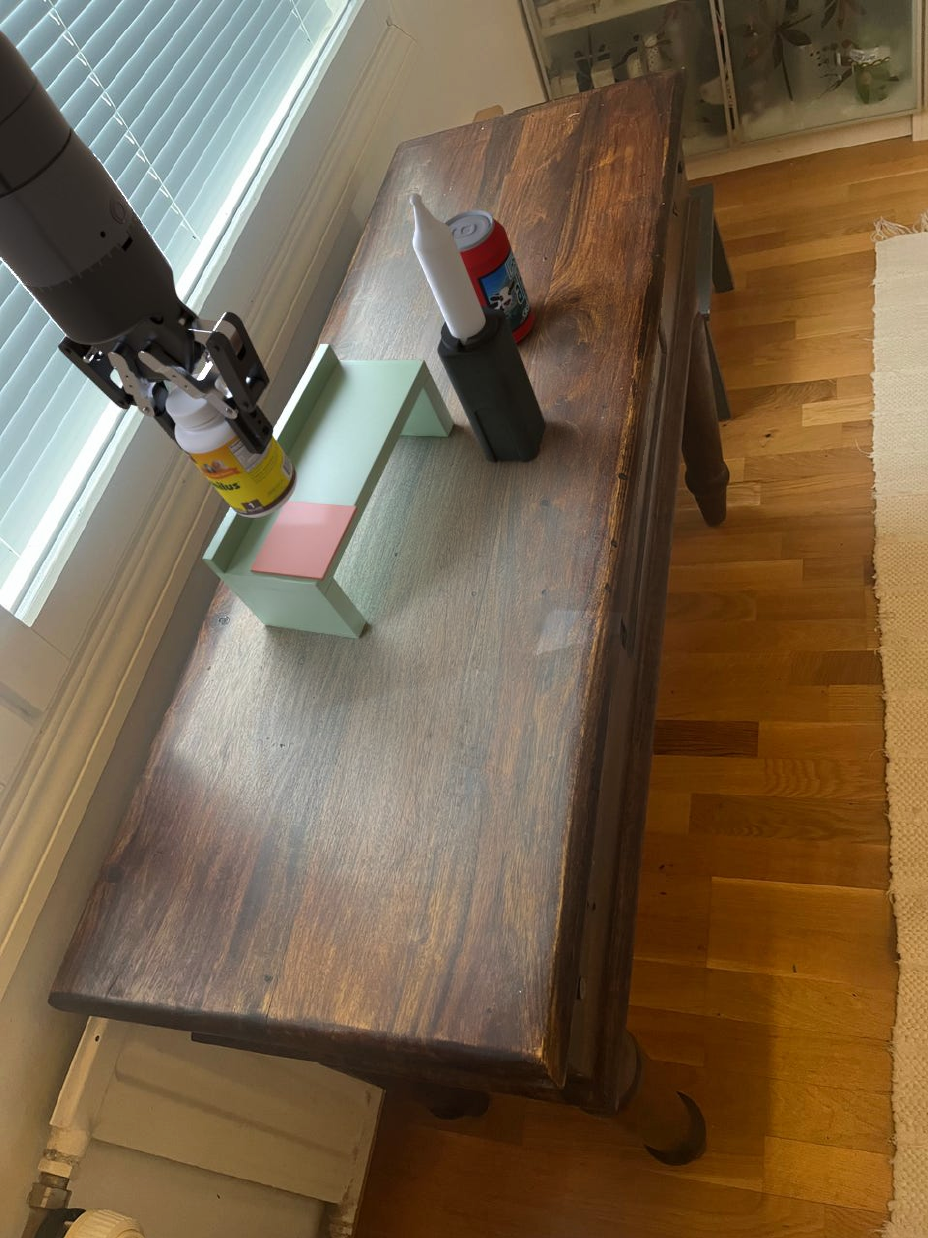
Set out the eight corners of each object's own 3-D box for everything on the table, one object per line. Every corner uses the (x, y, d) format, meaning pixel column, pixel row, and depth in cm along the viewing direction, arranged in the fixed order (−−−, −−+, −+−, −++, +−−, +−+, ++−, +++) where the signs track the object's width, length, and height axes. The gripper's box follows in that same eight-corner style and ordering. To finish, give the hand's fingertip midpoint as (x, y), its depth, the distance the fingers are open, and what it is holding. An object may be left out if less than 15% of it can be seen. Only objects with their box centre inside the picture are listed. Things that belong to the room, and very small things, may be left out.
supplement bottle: (220, 507, 70) (139, 410, 62) (269, 455, 71) (196, 354, 63) (264, 532, 67) (184, 434, 59) (315, 477, 68) (243, 374, 60)
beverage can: (532, 351, 89) (495, 245, 80) (466, 361, 92) (423, 260, 82) (539, 303, 93) (505, 197, 83) (476, 314, 95) (435, 212, 86)
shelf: (363, 639, 77) (309, 571, 69) (263, 624, 82) (201, 558, 74) (459, 422, 87) (421, 341, 79) (365, 420, 92) (320, 343, 84)
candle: (548, 418, 84) (456, 165, 64) (536, 462, 81) (437, 213, 62) (496, 421, 86) (391, 176, 66) (483, 463, 83) (370, 223, 64)
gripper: (-51, 288, 53) (128, 479, 66) (131, 275, 47) (289, 490, 60) (20, 204, 57) (177, 402, 70) (199, 181, 50) (334, 405, 63)
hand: (228, 442), depth 65 cm, fingers closed on supplement bottle, 5 cm apart
